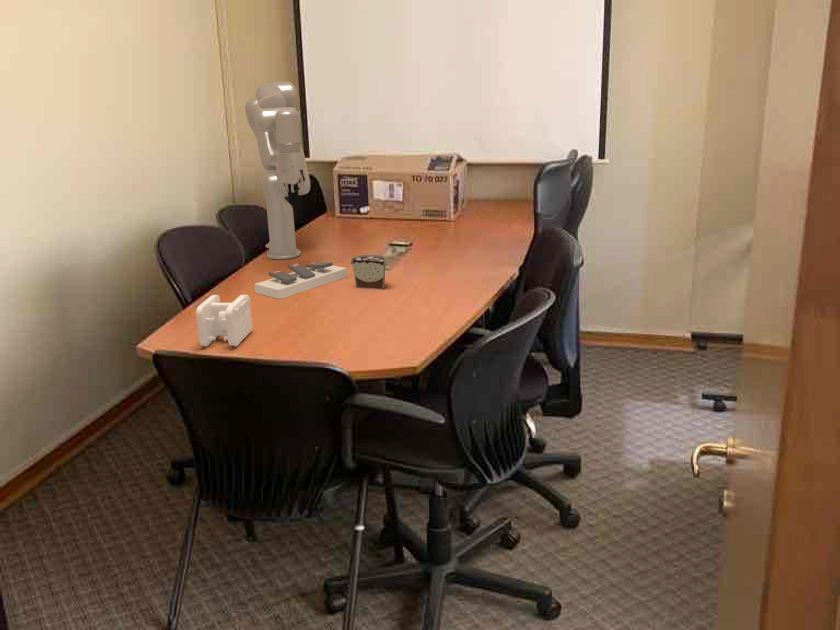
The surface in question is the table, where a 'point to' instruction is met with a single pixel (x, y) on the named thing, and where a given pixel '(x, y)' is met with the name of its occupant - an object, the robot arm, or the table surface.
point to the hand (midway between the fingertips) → (294, 203)
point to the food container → (369, 271)
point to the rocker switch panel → (300, 282)
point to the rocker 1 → (282, 276)
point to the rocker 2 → (301, 270)
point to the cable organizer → (224, 320)
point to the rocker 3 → (319, 265)
